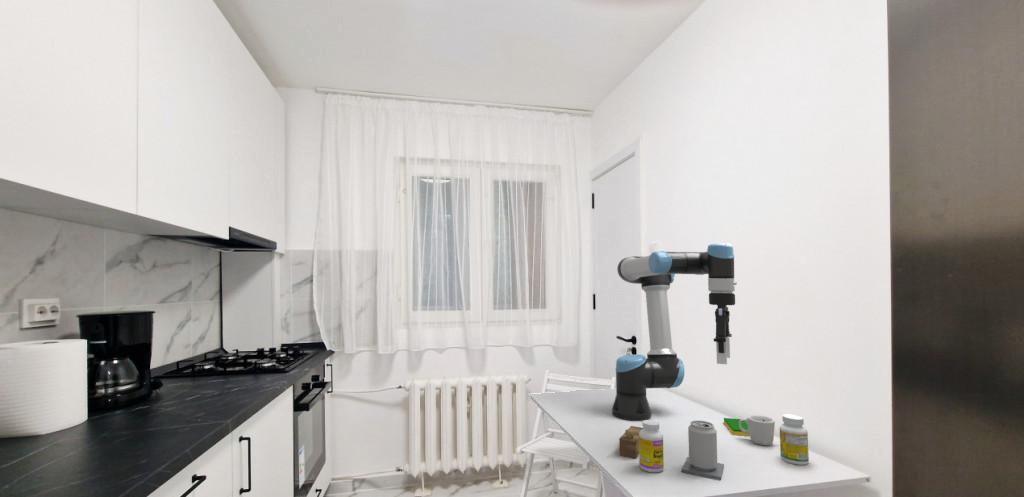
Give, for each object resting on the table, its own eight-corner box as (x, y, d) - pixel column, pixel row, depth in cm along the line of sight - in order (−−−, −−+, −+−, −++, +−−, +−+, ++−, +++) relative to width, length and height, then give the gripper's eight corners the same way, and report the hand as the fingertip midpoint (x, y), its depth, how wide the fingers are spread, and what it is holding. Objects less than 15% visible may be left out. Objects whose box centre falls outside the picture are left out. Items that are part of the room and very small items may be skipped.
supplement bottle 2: (807, 467, 127) (805, 421, 128) (778, 461, 131) (776, 416, 132) (810, 460, 132) (808, 416, 133) (783, 454, 137) (781, 411, 138)
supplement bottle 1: (654, 475, 121) (653, 427, 122) (634, 467, 126) (633, 421, 127) (668, 469, 125) (667, 423, 126) (649, 461, 130) (648, 417, 131)
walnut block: (631, 441, 147) (631, 419, 148) (646, 444, 145) (646, 422, 145) (619, 455, 135) (619, 431, 135) (635, 458, 132) (635, 434, 133)
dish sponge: (733, 436, 154) (733, 429, 154) (723, 424, 167) (723, 417, 167) (755, 438, 152) (755, 431, 152) (744, 425, 166) (743, 419, 166)
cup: (735, 441, 148) (735, 416, 149) (743, 435, 154) (742, 411, 154) (772, 449, 141) (771, 423, 141) (778, 443, 146) (777, 418, 147)
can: (720, 473, 121) (719, 428, 122) (691, 470, 122) (690, 426, 123) (714, 462, 128) (713, 420, 129) (686, 459, 130) (686, 418, 131)
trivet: (687, 459, 132) (687, 457, 132) (724, 466, 127) (723, 463, 127) (681, 472, 123) (681, 469, 123) (721, 480, 118) (721, 477, 118)
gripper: (732, 293, 127) (734, 368, 125) (737, 292, 148) (739, 355, 147) (704, 292, 130) (706, 365, 129) (712, 291, 152) (714, 353, 150)
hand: (723, 360), depth 138 cm, fingers open, 13 cm apart
